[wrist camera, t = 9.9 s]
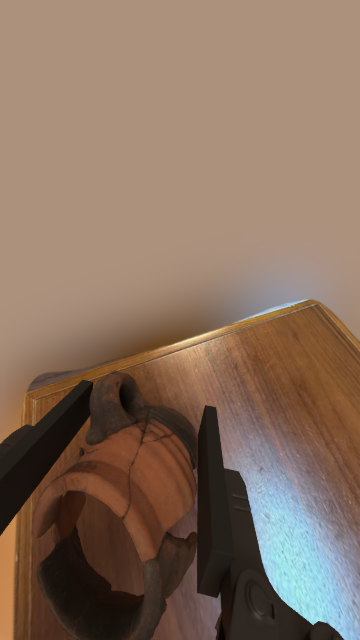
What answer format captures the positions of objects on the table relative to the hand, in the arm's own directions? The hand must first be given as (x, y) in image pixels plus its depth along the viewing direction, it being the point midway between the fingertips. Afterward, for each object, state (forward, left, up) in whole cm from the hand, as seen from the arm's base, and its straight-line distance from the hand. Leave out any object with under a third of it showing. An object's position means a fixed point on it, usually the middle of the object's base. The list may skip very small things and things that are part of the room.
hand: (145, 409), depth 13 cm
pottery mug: (0, -3, -4) cm, 5 cm away
